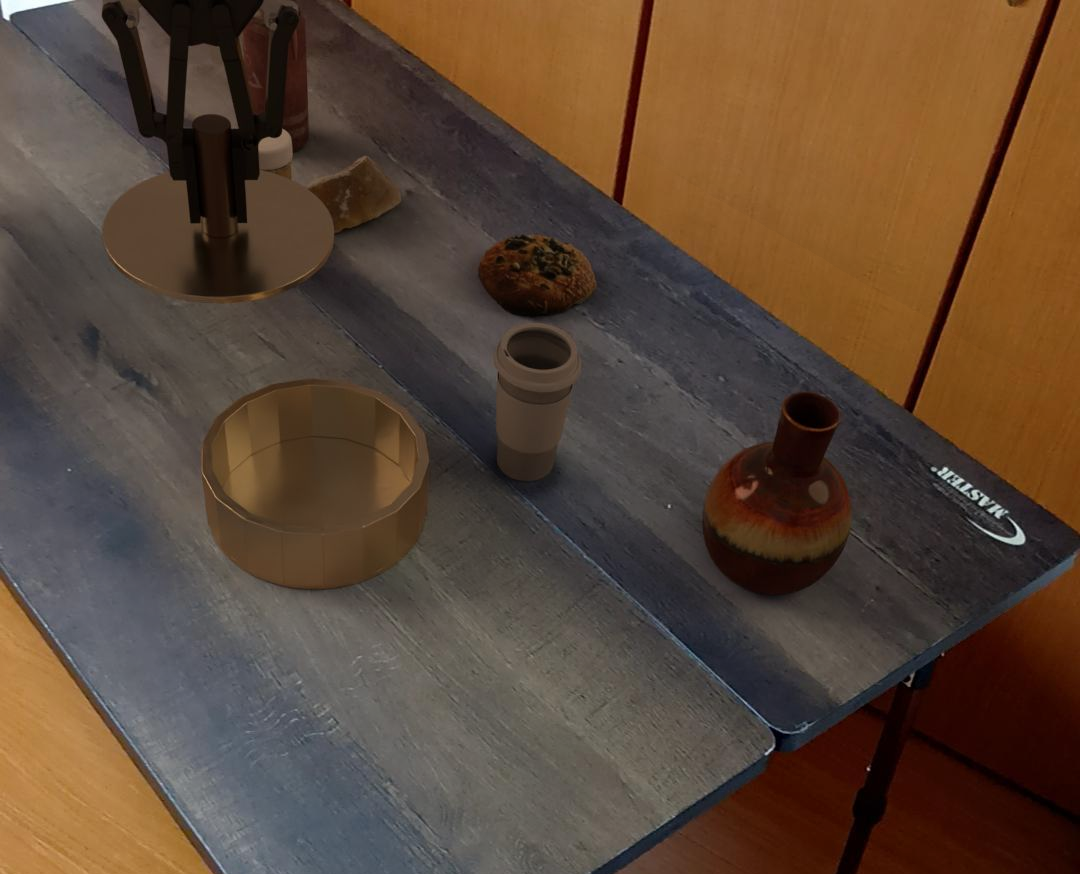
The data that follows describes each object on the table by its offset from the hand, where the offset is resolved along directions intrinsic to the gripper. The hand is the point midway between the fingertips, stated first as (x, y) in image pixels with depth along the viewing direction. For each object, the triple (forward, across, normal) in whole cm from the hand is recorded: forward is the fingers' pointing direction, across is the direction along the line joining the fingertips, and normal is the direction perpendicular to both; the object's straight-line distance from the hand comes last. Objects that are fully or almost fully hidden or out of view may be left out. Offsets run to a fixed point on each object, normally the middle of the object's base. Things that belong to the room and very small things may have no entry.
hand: (218, 212), depth 102 cm
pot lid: (+2, 0, 0) cm, 2 cm away
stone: (+11, +9, +22) cm, 27 cm away
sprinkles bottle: (+15, +4, +13) cm, 20 cm away
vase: (+14, +40, -26) cm, 50 cm away
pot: (+15, +6, -18) cm, 24 cm away
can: (+15, +6, +35) cm, 39 cm away
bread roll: (+15, +28, +10) cm, 33 cm away
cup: (+15, +23, -14) cm, 31 cm away
